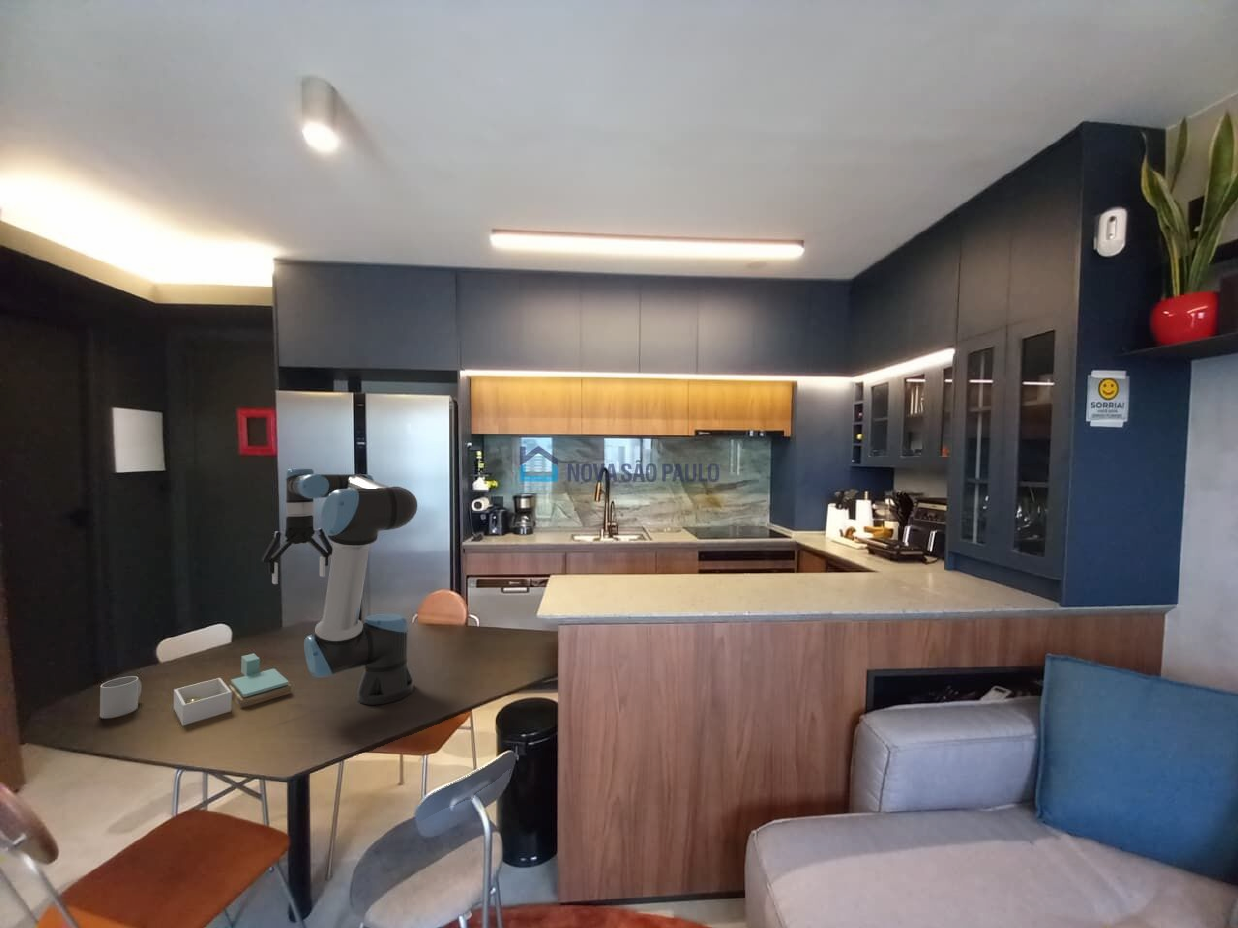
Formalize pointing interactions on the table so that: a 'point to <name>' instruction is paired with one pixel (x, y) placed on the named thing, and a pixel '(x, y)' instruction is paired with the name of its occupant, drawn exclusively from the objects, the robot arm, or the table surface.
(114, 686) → the cup
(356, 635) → the robot arm
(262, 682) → the lid
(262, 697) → the wooden block
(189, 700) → the gold round piece
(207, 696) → the tub
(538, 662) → the table surface
